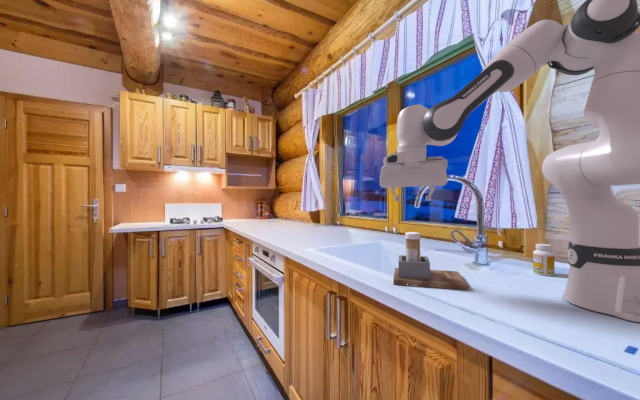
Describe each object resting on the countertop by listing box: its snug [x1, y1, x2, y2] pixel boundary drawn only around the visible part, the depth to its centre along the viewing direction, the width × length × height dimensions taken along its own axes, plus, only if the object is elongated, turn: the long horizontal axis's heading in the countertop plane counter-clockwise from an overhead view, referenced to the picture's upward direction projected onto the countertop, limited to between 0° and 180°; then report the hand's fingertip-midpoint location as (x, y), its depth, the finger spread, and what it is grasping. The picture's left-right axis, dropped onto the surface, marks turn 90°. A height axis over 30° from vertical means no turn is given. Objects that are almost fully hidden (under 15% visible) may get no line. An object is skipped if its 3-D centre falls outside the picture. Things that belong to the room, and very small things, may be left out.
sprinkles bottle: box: [404, 231, 421, 262], centre depth 85 cm, size 5×5×13 cm
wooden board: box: [393, 267, 469, 291], centre depth 84 cm, size 20×14×2 cm
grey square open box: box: [398, 254, 431, 280], centre depth 85 cm, size 9×9×5 cm
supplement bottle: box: [532, 243, 555, 277], centre depth 88 cm, size 5×5×10 cm
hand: (412, 201), depth 85 cm, fingers open, 8 cm apart
